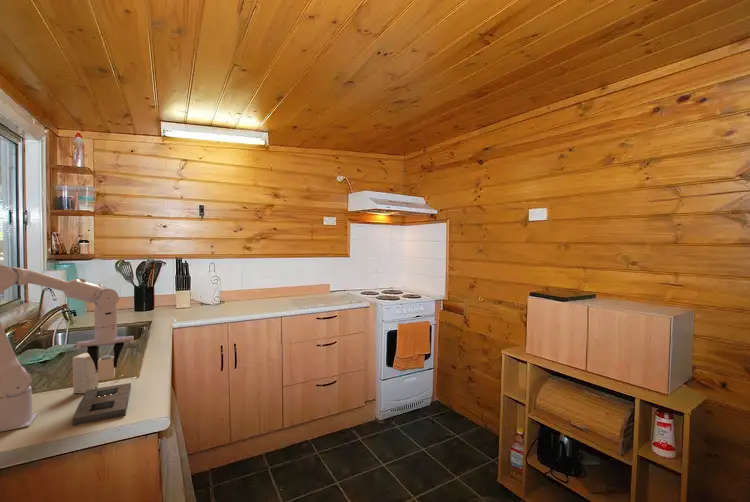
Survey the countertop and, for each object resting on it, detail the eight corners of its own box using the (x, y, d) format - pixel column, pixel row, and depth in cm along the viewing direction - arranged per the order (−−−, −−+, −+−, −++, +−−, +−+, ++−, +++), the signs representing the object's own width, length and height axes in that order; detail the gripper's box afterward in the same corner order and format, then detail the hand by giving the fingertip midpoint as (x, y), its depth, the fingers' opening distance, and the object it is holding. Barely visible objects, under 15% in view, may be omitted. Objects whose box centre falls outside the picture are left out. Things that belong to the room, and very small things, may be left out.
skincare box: (86, 393, 121) (85, 357, 121) (72, 394, 121) (71, 357, 121) (99, 386, 127) (98, 351, 127) (85, 386, 127) (85, 352, 127)
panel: (72, 425, 101) (72, 418, 101) (86, 396, 120) (86, 390, 120) (125, 415, 107) (125, 408, 107) (130, 388, 126) (130, 382, 126)
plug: (98, 380, 115) (97, 359, 115) (100, 376, 118) (99, 355, 118) (113, 378, 117) (113, 357, 117) (115, 374, 120) (114, 353, 120)
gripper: (133, 320, 124) (134, 360, 125) (79, 325, 117) (80, 368, 117) (132, 325, 118) (133, 366, 119) (74, 330, 111) (75, 375, 111)
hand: (106, 367), depth 118 cm, fingers closed on plug, 4 cm apart
